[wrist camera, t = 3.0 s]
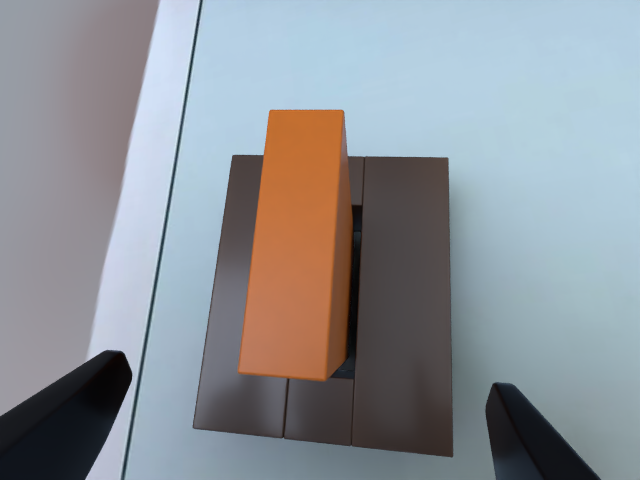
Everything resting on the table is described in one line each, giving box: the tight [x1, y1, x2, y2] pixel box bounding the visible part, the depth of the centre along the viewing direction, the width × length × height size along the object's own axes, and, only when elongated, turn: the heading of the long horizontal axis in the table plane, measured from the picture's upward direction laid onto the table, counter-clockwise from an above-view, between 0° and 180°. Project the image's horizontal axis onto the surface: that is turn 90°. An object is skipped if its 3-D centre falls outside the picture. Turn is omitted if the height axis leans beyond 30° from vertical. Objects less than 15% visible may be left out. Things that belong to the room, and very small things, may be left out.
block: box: [238, 110, 354, 382], centre depth 14 cm, size 2×6×12 cm, turn 176°
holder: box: [193, 155, 453, 457], centre depth 18 cm, size 10×12×4 cm
